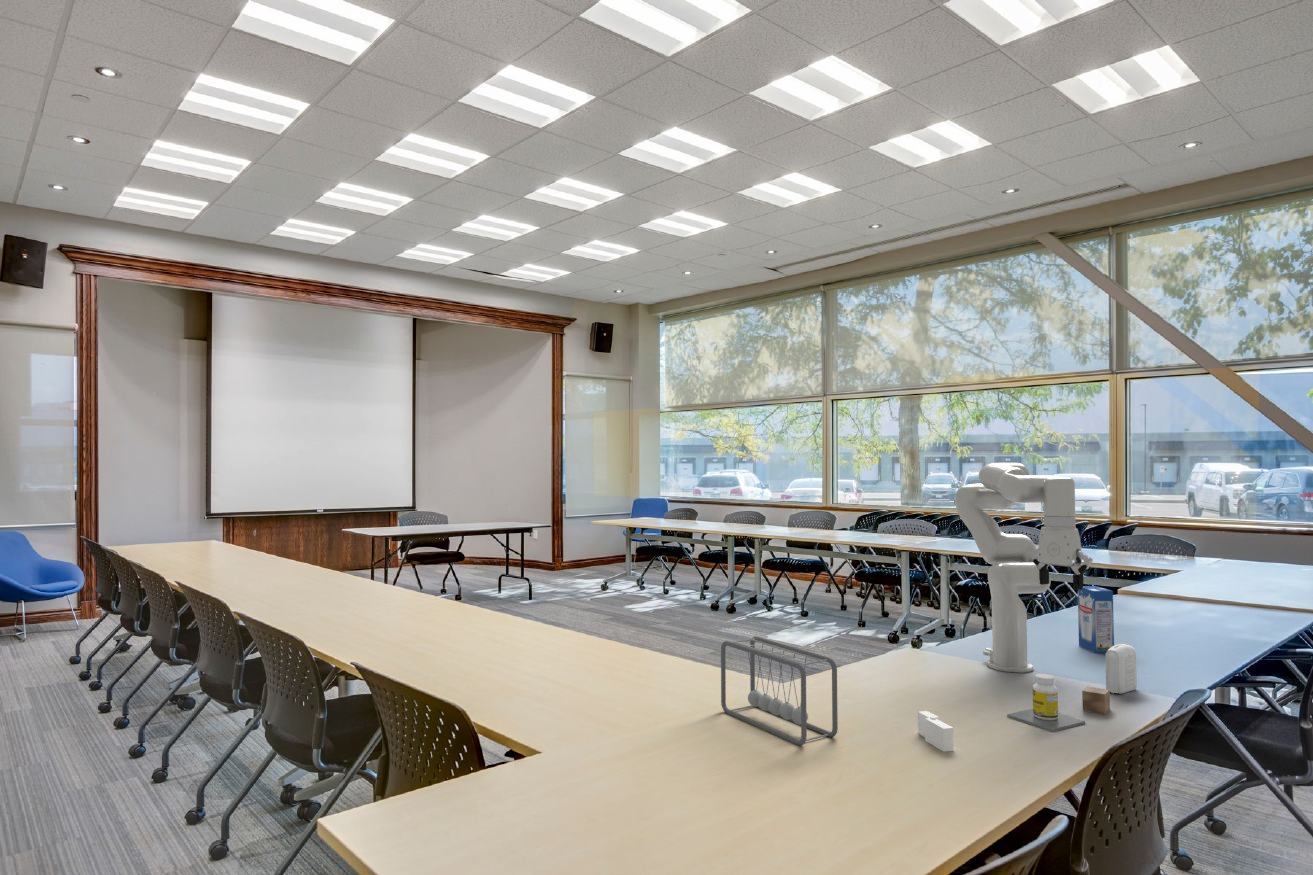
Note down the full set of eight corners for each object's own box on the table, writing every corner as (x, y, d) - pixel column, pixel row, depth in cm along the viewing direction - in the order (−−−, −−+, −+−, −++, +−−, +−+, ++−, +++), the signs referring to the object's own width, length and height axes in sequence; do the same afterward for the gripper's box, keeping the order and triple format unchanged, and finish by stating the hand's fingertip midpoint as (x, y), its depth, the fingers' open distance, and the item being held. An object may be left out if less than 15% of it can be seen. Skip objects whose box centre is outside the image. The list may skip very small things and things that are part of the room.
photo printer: (1122, 685, 214) (1121, 640, 214) (1139, 689, 210) (1138, 643, 211) (1103, 691, 208) (1102, 645, 209) (1120, 695, 205) (1119, 648, 205)
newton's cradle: (838, 739, 173) (837, 659, 174) (803, 748, 167) (803, 665, 168) (753, 704, 198) (752, 634, 199) (720, 711, 193) (719, 639, 193)
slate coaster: (1007, 716, 188) (1007, 714, 188) (1039, 709, 193) (1039, 706, 193) (1052, 731, 177) (1052, 729, 177) (1085, 723, 183) (1085, 720, 183)
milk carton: (1114, 652, 251) (1113, 590, 251) (1095, 652, 251) (1093, 590, 252) (1097, 645, 261) (1096, 586, 261) (1078, 645, 261) (1077, 586, 262)
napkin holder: (962, 758, 163) (961, 731, 163) (905, 750, 167) (905, 723, 167) (965, 735, 176) (965, 710, 176) (913, 728, 181) (913, 704, 181)
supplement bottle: (1028, 713, 188) (1027, 673, 188) (1049, 713, 188) (1049, 672, 189) (1041, 721, 183) (1040, 679, 183) (1063, 720, 183) (1062, 678, 183)
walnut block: (1082, 710, 193) (1082, 690, 193) (1087, 705, 196) (1087, 686, 197) (1105, 714, 189) (1104, 694, 190) (1110, 710, 193) (1109, 689, 193)
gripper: (1022, 521, 215) (1023, 583, 214) (1081, 525, 199) (1082, 592, 199) (1039, 520, 218) (1040, 581, 218) (1099, 524, 203) (1100, 590, 202)
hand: (1061, 586), depth 208 cm, fingers open, 9 cm apart
